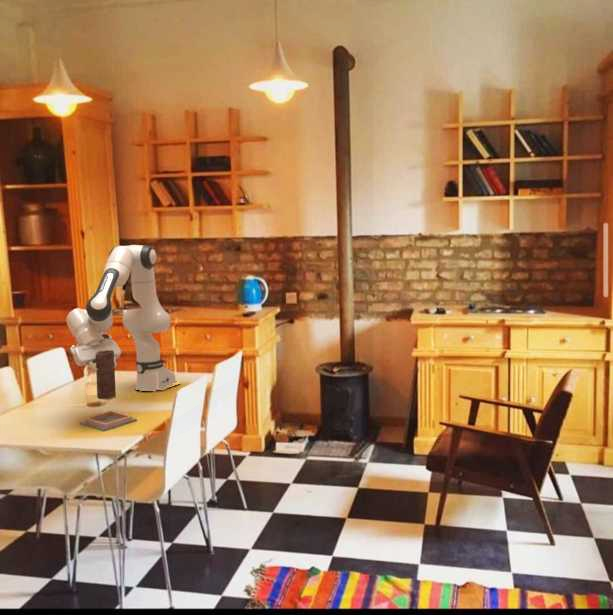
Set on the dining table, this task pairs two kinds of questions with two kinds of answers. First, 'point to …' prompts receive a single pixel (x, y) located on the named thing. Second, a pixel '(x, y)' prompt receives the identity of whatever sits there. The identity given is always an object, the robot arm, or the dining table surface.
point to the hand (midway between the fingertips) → (106, 368)
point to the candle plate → (108, 420)
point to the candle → (105, 374)
